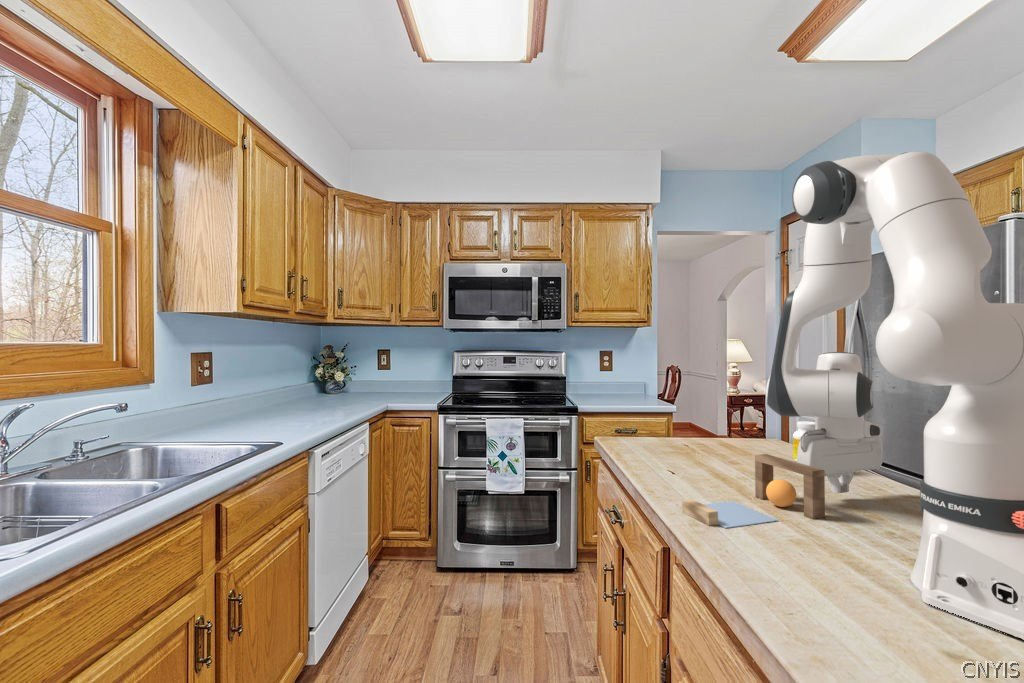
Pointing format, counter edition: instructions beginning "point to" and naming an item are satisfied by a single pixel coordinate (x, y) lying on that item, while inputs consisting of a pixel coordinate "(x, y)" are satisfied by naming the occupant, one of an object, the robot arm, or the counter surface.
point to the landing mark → (738, 515)
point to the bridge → (812, 475)
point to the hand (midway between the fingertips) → (840, 492)
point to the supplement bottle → (802, 428)
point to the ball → (781, 493)
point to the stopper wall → (700, 512)
